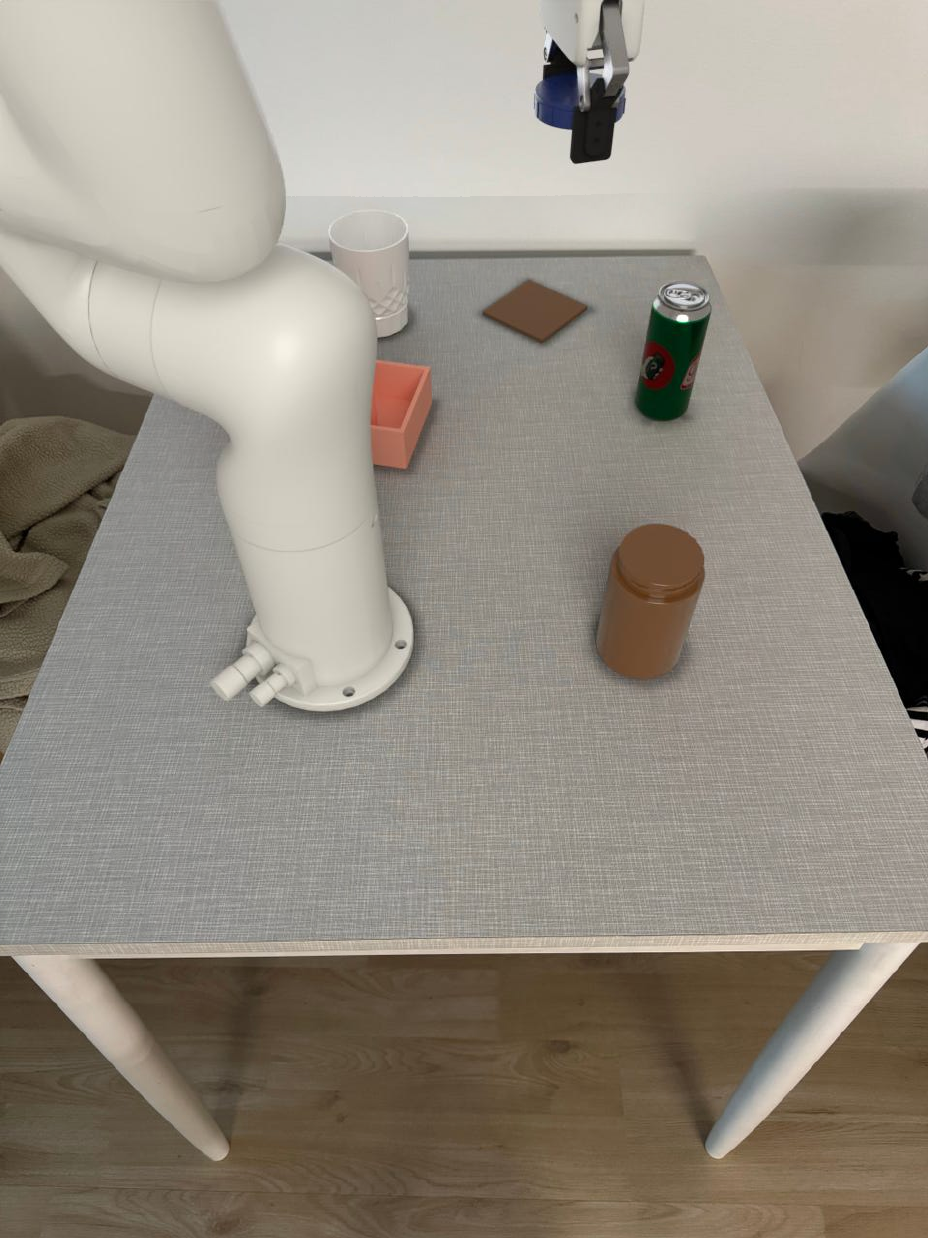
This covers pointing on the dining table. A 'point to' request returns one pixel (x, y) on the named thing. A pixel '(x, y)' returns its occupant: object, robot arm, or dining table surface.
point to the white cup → (375, 262)
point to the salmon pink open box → (398, 411)
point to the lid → (564, 99)
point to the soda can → (672, 350)
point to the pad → (535, 310)
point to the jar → (649, 600)
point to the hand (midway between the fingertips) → (574, 135)
